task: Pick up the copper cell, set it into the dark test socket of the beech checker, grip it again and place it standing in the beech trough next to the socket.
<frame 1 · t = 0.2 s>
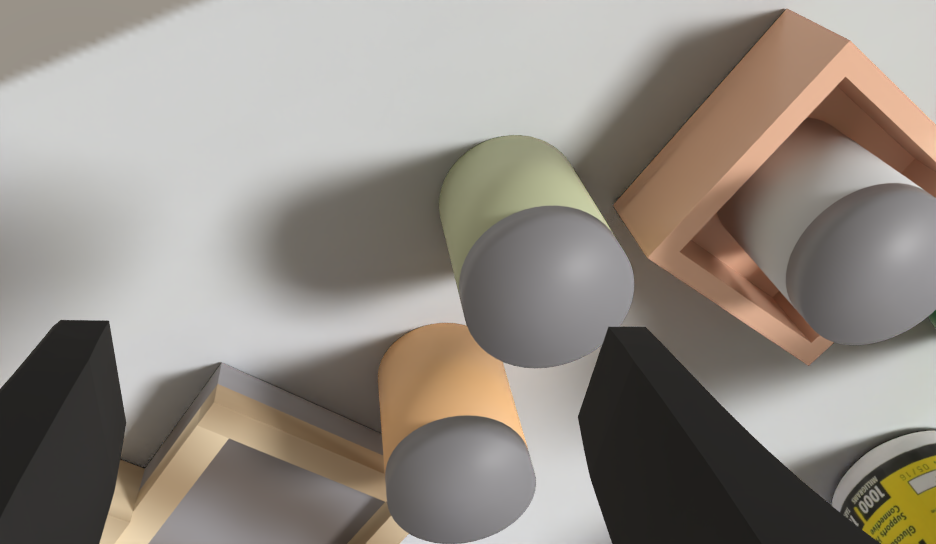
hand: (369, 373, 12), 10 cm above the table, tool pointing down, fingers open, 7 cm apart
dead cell: (782, 183, 23), point 1 cm above the table, touching copper square frame
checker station: (159, 498, 26), on the table
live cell: (440, 374, 25), on the table
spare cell: (509, 201, 23), on the table
copper square frame: (773, 175, 23), on the table
pill bottle: (896, 478, 32), on the table
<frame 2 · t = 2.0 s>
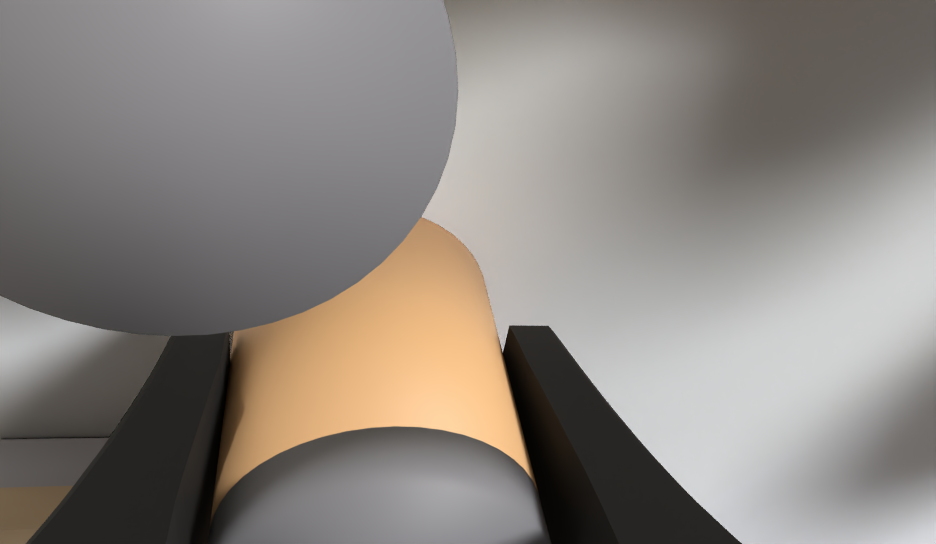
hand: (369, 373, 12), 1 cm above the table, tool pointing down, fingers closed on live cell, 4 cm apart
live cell: (365, 310, 13), on the table, touching gripper
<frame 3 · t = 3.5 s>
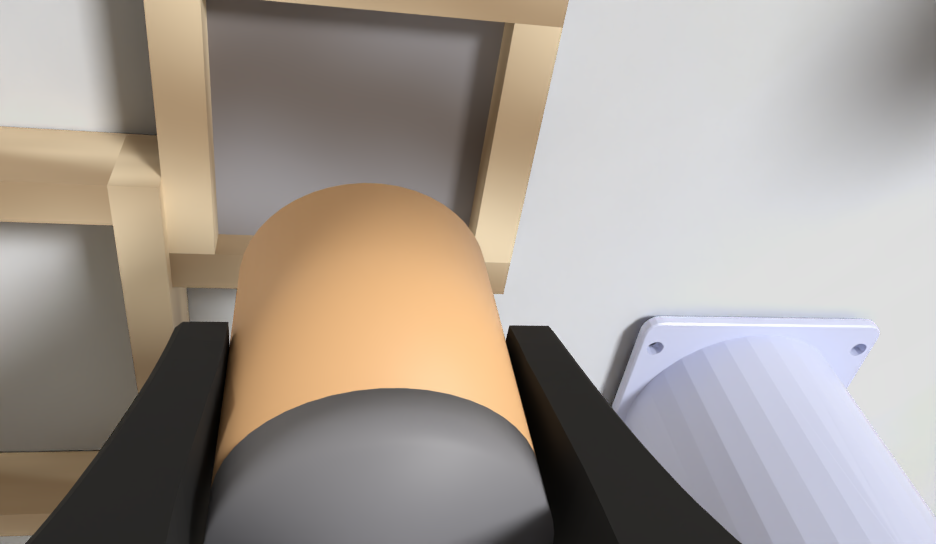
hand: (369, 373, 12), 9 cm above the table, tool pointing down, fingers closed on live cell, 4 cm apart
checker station: (220, 175, 19), on the table
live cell: (365, 287, 13), point 7 cm above the table, touching gripper
when the fingers open (3 cm above the table, at t = 4.9 s): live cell stays where it is, resting on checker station.
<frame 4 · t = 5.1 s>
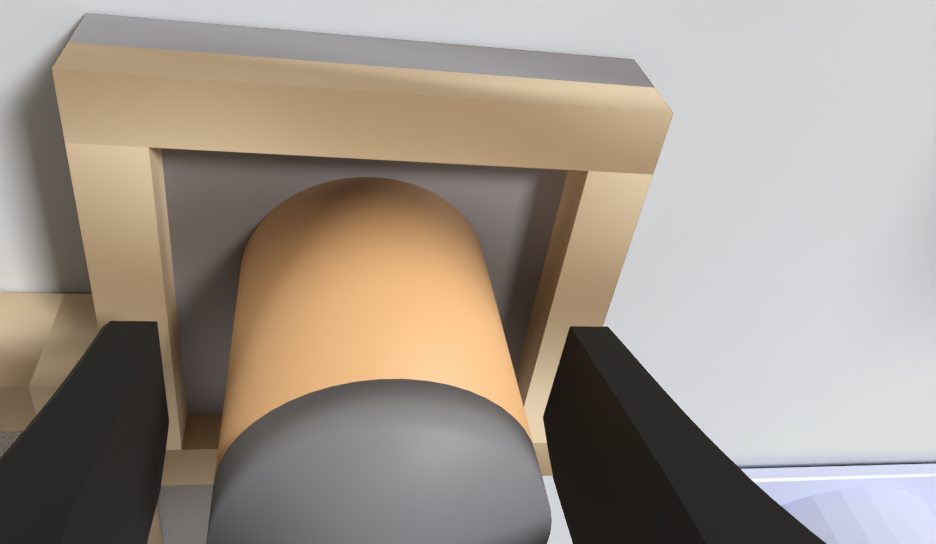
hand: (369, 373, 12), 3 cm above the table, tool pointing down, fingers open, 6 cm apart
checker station: (190, 337, 15), on the table
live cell: (365, 280, 13), point 1 cm above the table, touching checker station
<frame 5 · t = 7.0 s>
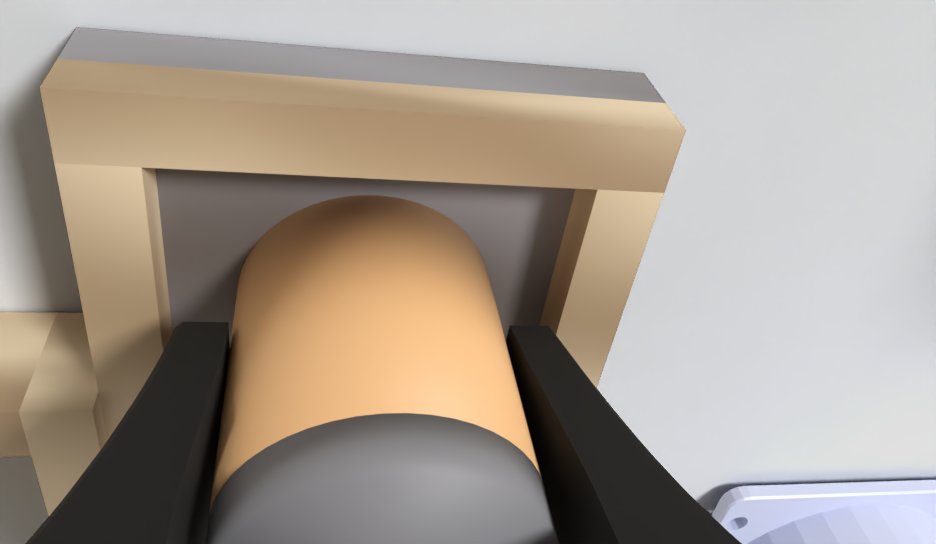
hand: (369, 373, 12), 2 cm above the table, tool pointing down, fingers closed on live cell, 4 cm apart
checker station: (186, 356, 14), on the table
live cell: (366, 300, 13), point 1 cm above the table, touching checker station, gripper
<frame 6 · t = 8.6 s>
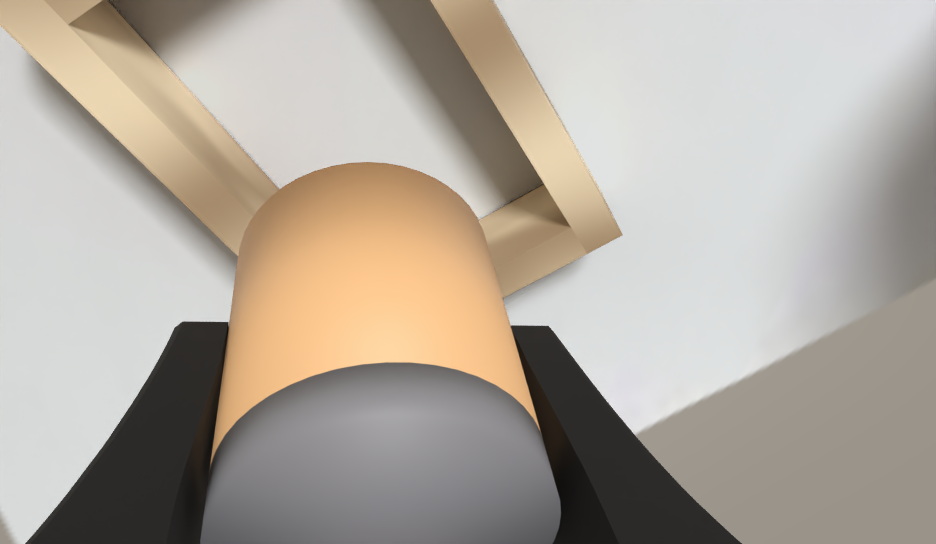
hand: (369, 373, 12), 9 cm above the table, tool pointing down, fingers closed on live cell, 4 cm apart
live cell: (366, 270, 13), point 8 cm above the table, touching gripper
when the fingers open (3 cm above the table, at t = 10.2 s): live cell stays where it is, resting in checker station.
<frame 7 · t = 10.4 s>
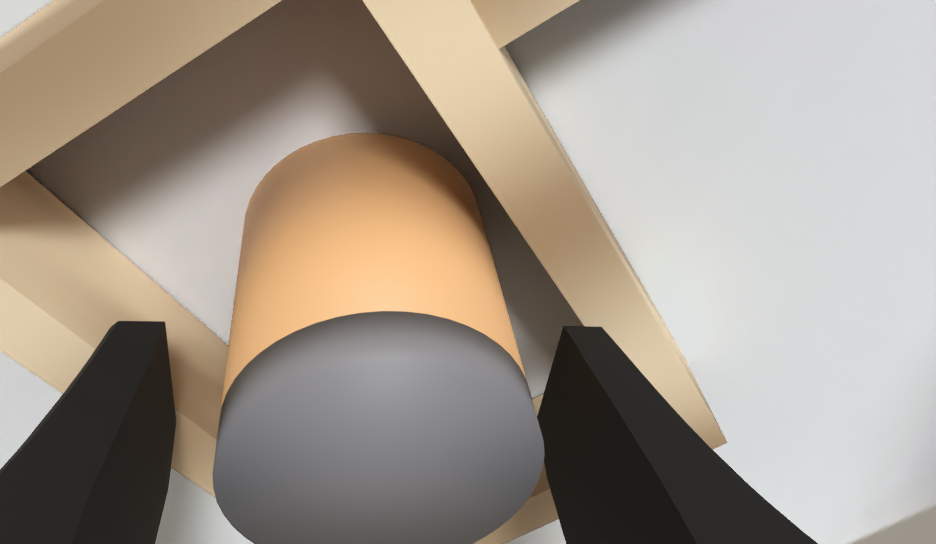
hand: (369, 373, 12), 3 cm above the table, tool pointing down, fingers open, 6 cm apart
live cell: (365, 237, 14), resting in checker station
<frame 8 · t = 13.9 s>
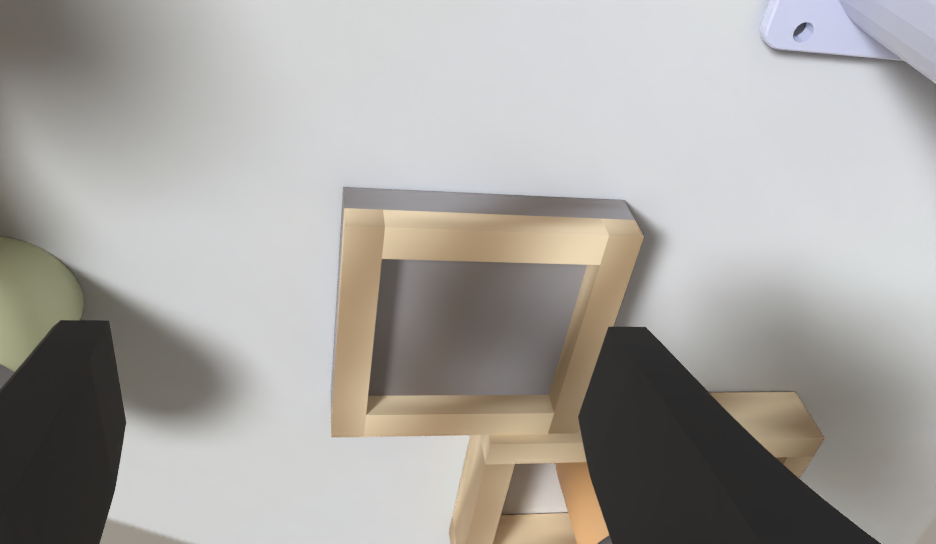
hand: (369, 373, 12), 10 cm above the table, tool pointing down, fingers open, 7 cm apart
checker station: (513, 372, 27), on the table
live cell: (606, 457, 31), resting in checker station
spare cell: (5, 294, 22), on the table
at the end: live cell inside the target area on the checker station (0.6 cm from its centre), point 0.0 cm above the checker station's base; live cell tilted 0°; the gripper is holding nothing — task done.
